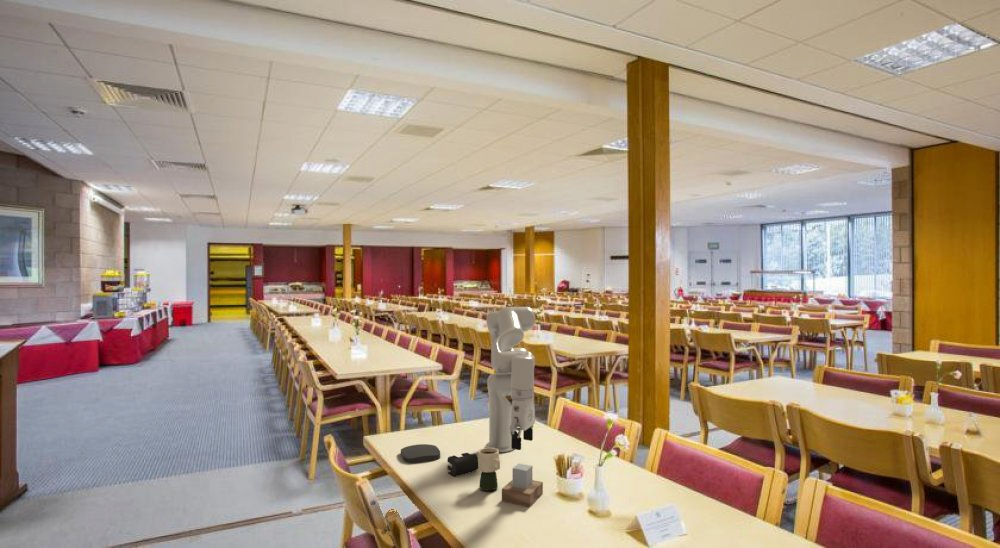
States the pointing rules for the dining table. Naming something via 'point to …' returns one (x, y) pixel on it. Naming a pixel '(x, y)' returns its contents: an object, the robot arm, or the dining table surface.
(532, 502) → the block
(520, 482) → the grey block
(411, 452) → the media streaming box
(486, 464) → the character mug
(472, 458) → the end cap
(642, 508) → the dining table surface
